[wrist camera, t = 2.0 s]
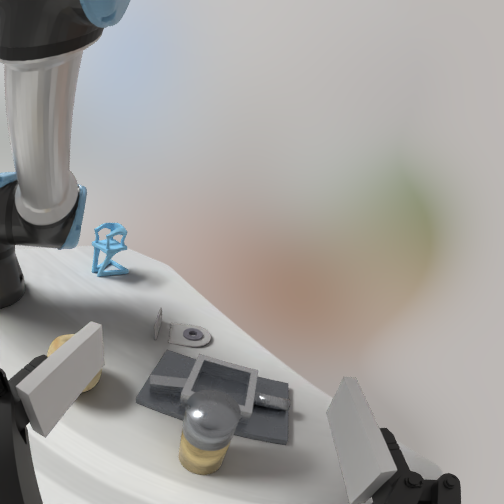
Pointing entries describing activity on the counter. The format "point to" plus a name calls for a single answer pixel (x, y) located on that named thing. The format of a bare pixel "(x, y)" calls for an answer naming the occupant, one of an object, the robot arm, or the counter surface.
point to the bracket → (184, 333)
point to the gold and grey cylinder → (207, 430)
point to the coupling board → (224, 380)
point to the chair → (109, 249)
